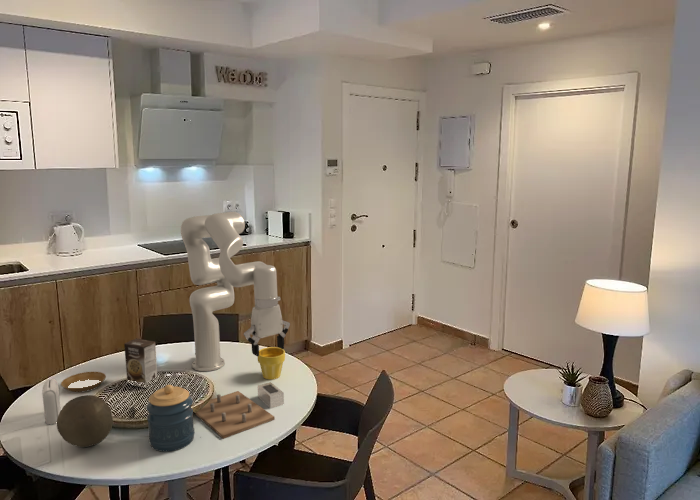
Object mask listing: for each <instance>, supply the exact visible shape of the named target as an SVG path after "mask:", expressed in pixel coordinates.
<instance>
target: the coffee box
mask: <svg viewBox="0 0 700 500" xmlns="http://www.w3.org/2000/svg"><path fill="white" fill-rule="evenodd" d="M123 345H124V355H125V367H126V368H125V369H126V371H125V372H126V380H127V379H128V380H132V381H137V382H144V383H146V382H148V381H150V380H152V379H154V378H155V377H157V378H158V368H157V367H158V366H157V365H158V362H157V350H156V341H153V340H147V339H143V338H134V339H131V340H129V341H127V342H125V343H124V344H123Z"/></svg>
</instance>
